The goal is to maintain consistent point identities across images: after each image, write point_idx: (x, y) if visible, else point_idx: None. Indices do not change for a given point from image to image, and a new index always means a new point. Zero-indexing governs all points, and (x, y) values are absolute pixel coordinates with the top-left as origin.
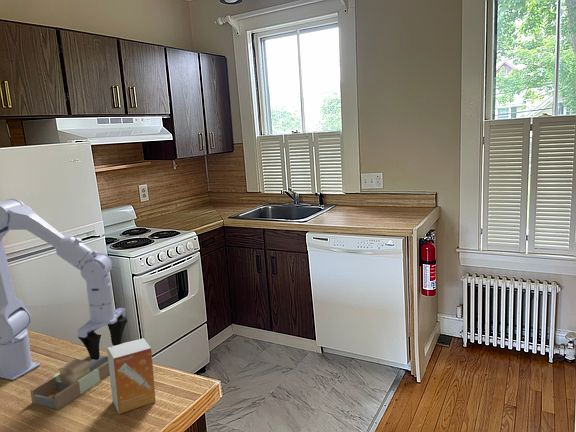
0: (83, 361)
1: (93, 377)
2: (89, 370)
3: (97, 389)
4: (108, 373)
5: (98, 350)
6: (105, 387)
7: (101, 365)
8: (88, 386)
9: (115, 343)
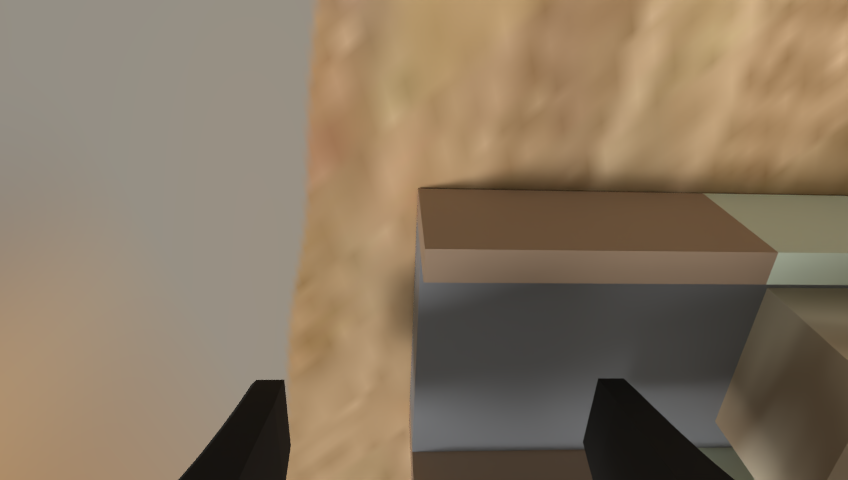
0: None
1: (820, 226)
2: (800, 316)
3: (842, 115)
4: (597, 198)
5: (669, 450)
6: (812, 63)
7: (700, 274)
8: (845, 205)
9: (283, 436)
